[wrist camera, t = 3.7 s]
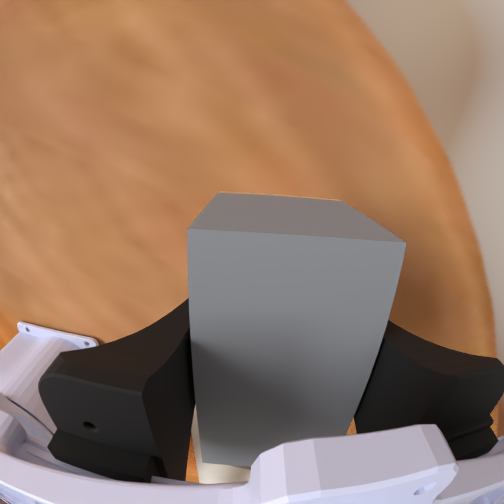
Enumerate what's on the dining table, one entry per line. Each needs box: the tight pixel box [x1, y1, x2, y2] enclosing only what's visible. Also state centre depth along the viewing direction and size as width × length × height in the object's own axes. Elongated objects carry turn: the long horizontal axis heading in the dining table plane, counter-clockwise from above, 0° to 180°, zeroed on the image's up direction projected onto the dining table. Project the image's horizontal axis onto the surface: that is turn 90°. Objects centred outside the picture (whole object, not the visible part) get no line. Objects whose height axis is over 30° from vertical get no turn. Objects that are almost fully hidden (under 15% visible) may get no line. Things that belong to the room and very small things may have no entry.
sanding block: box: [187, 191, 407, 466], centre depth 11 cm, size 5×9×6 cm, turn 177°
